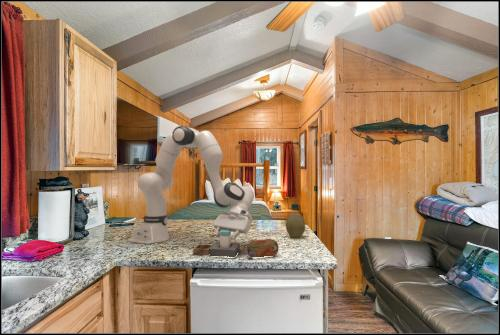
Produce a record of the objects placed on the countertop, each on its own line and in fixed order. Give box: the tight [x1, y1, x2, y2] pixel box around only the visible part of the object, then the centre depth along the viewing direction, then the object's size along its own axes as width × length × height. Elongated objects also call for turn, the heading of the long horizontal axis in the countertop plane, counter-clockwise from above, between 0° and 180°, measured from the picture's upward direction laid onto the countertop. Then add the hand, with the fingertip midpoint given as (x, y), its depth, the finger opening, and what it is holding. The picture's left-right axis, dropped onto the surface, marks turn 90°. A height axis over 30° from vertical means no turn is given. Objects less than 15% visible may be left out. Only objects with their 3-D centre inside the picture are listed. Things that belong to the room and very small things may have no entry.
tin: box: [246, 238, 279, 258], centre depth 117 cm, size 15×3×8 cm, turn 106°
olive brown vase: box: [285, 211, 306, 239], centre depth 152 cm, size 11×11×15 cm
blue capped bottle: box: [219, 230, 232, 248], centre depth 121 cm, size 4×4×11 cm
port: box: [209, 241, 241, 257], centre depth 121 cm, size 12×12×4 cm
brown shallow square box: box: [192, 243, 214, 256], centre depth 123 cm, size 8×8×3 cm
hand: (224, 237), depth 121 cm, fingers open, 8 cm apart
